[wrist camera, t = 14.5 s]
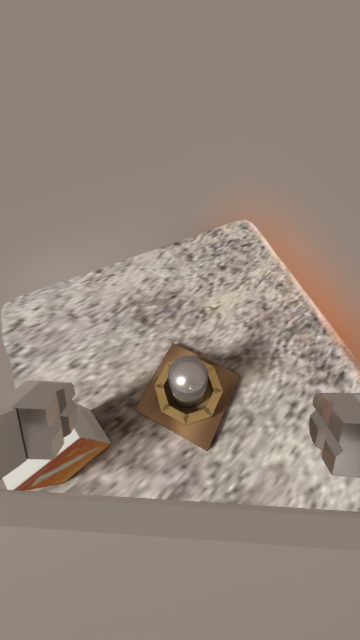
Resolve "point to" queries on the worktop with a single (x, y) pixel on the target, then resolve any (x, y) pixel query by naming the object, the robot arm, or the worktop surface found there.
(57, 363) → the worktop surface
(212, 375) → the ring
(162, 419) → the board
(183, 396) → the grey metal cylinder
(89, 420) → the small box
